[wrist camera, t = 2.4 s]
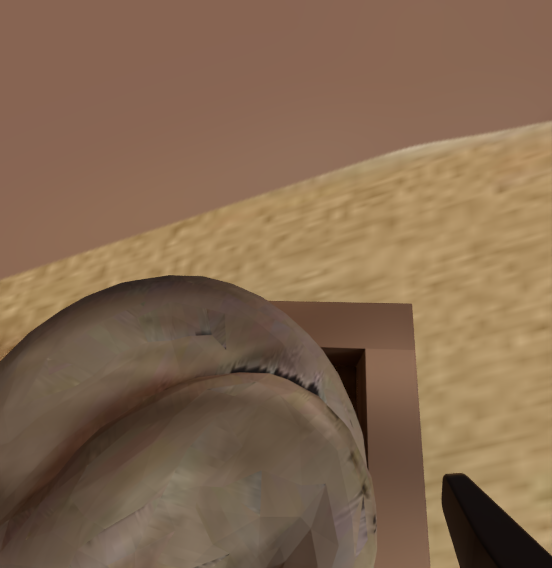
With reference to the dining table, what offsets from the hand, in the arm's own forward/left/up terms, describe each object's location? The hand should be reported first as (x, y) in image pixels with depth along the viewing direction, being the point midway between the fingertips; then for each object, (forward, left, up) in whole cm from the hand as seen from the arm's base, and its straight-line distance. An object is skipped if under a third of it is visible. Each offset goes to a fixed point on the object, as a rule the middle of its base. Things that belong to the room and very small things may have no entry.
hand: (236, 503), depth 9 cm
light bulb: (+1, 0, -9) cm, 10 cm away
